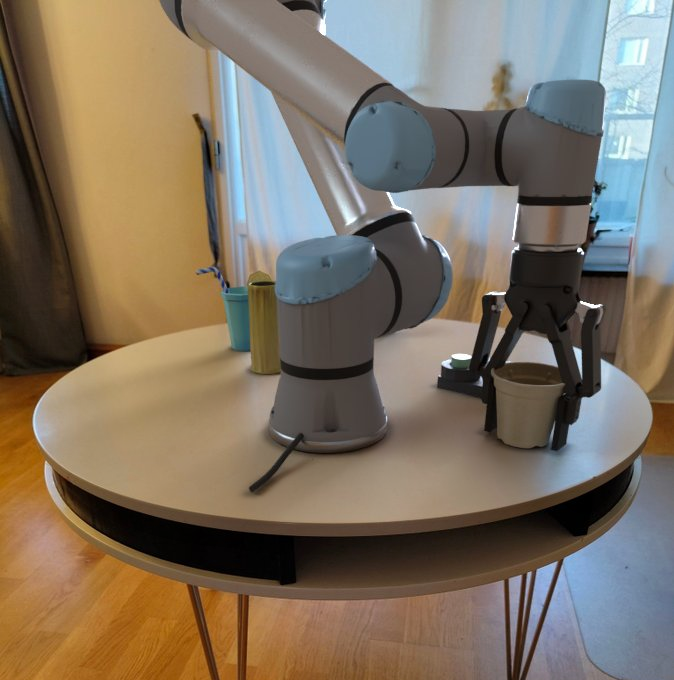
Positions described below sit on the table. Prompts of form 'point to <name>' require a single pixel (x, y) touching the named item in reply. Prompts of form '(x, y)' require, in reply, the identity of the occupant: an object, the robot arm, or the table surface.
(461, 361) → the button
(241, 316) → the cup
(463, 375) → the scale
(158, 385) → the table surface
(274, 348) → the vase
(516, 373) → the flower pot
